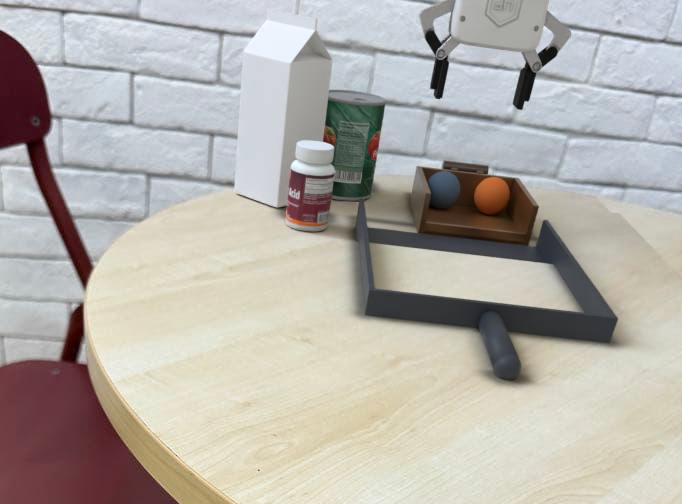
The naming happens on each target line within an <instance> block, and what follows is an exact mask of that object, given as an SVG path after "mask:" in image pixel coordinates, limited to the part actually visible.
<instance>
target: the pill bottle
mask: <svg viewBox="0 0 682 504" xmlns="http://www.w3.org/2000/svg"><path fill="white" fill-rule="evenodd" d="M295 154H296V155H295V156H296V158H297V160H295V161H294V162H293V163H292V165H291V169H290V179H289V189H288V199H287V206H286V208H285V209H286V211H285V218H284V221H285V224H286V225H287V226H288V227H290V228H291V229H294V230H298V231H303V232H309V233H310V232H314V233H315V232H322V231H324V230H326V229H327V228H328V225H329V220H330V219H329V218H330V210H331V203H332V199H331V197H332V190H333V182H334V175H335V169H334V167H333V165H332V164H331V163H330V162H332V161H333V155H334V146H333V145H331V144H328V143H325V142H320V141H312V140H303V141H299V142H297V145H296V152H295Z"/></svg>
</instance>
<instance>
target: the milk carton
mask: <svg viewBox="0 0 682 504" xmlns="http://www.w3.org/2000/svg"><path fill="white" fill-rule="evenodd" d="M317 25H318V18H317V17H311V16H307V15H302V14H298V13H292V12H287V11H282V10H277V9H272V8H267V9H266V20H265V21H264V23H263V24H262V26H261V27H260V28H259V29H258V31H256V33H255V35H254V36H253V37H252V38H251V40H249V42H248V43H247V45H246V46H245V48H244V49H243V50H242V65H241V80H240V95H239V109H238V110H239V112H238V126H237V128H238V129H237V142H236V155H235V156H236V158H235V170H234V171H235V173H234V174H235V175H234V187H233V191H234V193H235V194H237V195H240V196H243V197H245V198H249V199H251V200H254V201H257V202H260V203H263V204H265V205H268V206H271V207H274V208H281V207H287V199H288V189H289V179H290V169H291V165H292V163H293V162H294V161H295V160H297V158H296V156H295V155H296V154H295V152H296V145H297V142H299V141H303V140H312V141H320V142H323V137H324V128H325V120H326V112H327V103H328V95H329V90H330V85H331V78H332V70H333V69H332V68H333V58H332V56H331V55H330V53H329V51H328V49H327V47H326V46H325V43H324V41H323V40H322V38H321V36H320V34H319V33H318V31H317V29H318V28H317V27H318V26H317Z"/></svg>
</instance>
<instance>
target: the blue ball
mask: <svg viewBox="0 0 682 504" xmlns="http://www.w3.org/2000/svg"><path fill="white" fill-rule="evenodd" d="M427 184H428V186H429V189H430V192H431V198H430V203H429V204H430V205H432V206H433V207H435V208H438V209H445V208H448V207H450V206H452V205H453V204H454V203H455V202H456V201H457V199H458V197H459V195H460V183H459V180H458V179H457V177H456V176H455V175H454V174H452V173H450V172H447V171H441V172H437V173H435V174H434V175H433V176H431V177H430V179H429V180H428V182H427Z"/></svg>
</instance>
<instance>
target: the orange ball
mask: <svg viewBox="0 0 682 504" xmlns="http://www.w3.org/2000/svg"><path fill="white" fill-rule="evenodd" d="M509 198H510V190H509V187H508V185H507V184H506V182H505V181H504V180H502V179H500V178H497V177H490V178H487V179H485V180H483V181H482V182H481V183H480V184H479V185H478V186H477V188H476V190H475V193H474V202H475V205H476V207H477V208H478V209H479V210H480V211H481V212H482V213H484V214H489V215H492V214H496V213H499V212H500V211H502V210H503V209H504V208H505V207H506V205H507V203H508V201H509Z"/></svg>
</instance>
